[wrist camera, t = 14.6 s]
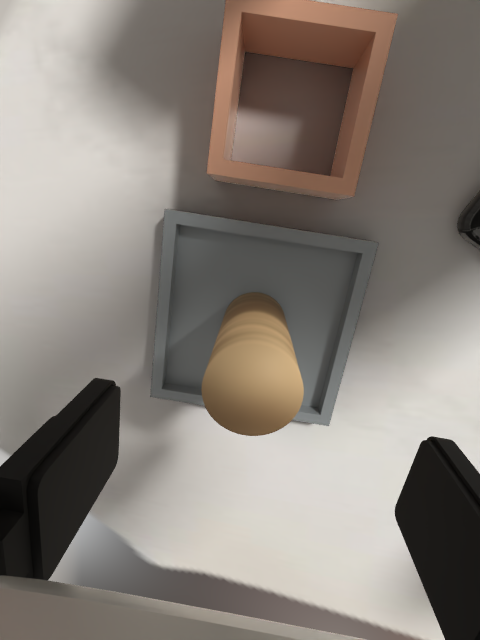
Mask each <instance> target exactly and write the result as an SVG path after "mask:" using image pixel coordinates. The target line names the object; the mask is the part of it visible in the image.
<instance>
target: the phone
mask: <svg viewBox="0 0 480 640" xmlns="http://www.w3.org/2000/svg"><path fill="white" fill-rule="evenodd" d="M457 227H458V231H459V234H460V235H461V236H462V237H463V238H464V239H466V240H467V241H468V242H470V243H471V244H473V245H474V246H475V247H477V248H478V249H480V191H479V192H478V193H477V195H476V196H475V197H474V198H473V200H472V201H471V202H470V203H469V204H468V206H467V207H466V208H465V209H464V211H463V212H462V214H461V215H460V217H459V219H458V223H457Z"/></svg>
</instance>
